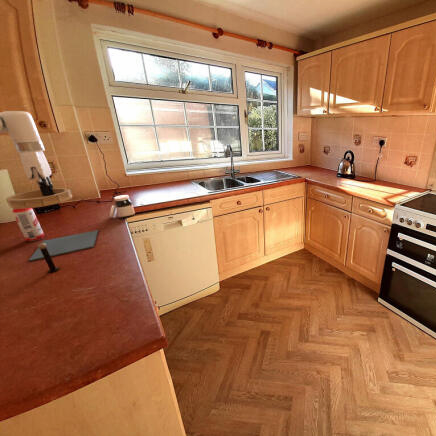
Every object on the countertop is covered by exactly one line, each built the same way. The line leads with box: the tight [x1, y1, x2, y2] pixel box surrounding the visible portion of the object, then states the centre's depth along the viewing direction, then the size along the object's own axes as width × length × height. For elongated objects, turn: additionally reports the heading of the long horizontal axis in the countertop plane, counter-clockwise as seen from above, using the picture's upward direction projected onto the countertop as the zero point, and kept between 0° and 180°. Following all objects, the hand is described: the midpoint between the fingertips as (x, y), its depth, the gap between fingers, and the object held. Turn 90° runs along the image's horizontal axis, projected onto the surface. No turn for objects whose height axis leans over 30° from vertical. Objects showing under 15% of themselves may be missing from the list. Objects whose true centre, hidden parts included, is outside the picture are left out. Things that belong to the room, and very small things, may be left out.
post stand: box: [37, 242, 59, 274], centre depth 86 cm, size 3×3×11 cm
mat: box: [28, 229, 99, 262], centre depth 107 cm, size 20×20×1 cm
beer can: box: [12, 208, 45, 243], centre depth 110 cm, size 6×6×16 cm
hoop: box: [5, 187, 74, 210], centre depth 90 cm, size 17×17×3 cm
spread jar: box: [109, 194, 136, 220], centre depth 135 cm, size 12×11×12 cm
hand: (49, 194), depth 97 cm, fingers closed on hoop, 1 cm apart
